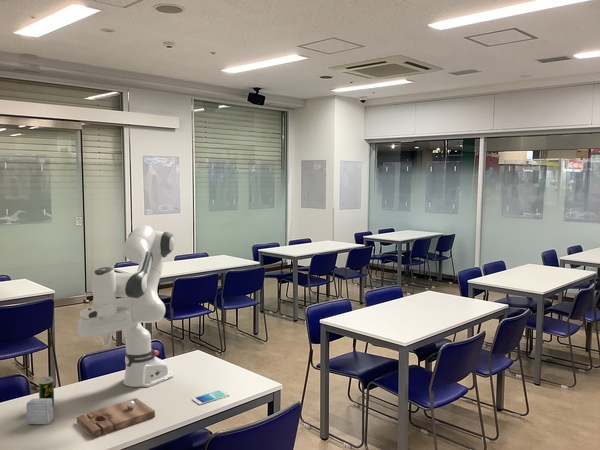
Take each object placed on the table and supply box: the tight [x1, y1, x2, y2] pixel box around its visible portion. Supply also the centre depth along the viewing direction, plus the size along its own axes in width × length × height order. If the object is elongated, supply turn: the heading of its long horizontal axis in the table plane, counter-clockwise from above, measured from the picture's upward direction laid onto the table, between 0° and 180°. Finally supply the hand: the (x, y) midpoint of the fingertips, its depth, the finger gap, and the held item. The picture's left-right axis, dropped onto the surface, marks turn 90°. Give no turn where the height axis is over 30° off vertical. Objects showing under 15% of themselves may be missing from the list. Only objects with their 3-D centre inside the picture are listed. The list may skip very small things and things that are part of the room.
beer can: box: [38, 376, 55, 407], centre depth 204 cm, size 5×5×12 cm
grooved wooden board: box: [76, 397, 156, 439], centre depth 194 cm, size 24×16×2 cm, turn 134°
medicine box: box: [26, 398, 54, 425], centre depth 191 cm, size 8×4×9 cm, turn 92°
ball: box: [127, 401, 135, 409], centre depth 197 cm, size 3×3×3 cm
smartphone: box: [191, 389, 230, 406], centre depth 214 cm, size 7×1×15 cm
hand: (105, 344), depth 197 cm, fingers closed
